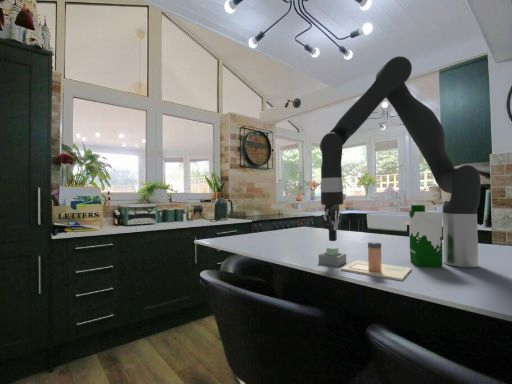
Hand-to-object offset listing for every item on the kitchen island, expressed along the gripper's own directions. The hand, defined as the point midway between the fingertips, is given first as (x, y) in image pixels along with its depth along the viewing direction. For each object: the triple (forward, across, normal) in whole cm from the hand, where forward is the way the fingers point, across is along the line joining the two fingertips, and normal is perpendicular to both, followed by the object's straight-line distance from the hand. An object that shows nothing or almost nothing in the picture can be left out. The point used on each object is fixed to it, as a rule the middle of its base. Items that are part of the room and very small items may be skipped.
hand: (332, 240), depth 93 cm
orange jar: (+7, -4, -15) cm, 17 cm away
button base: (+8, 0, 0) cm, 8 cm away
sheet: (+8, -1, -14) cm, 16 cm away
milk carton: (+8, +17, -25) cm, 32 cm away
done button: (+7, 0, 0) cm, 7 cm away
